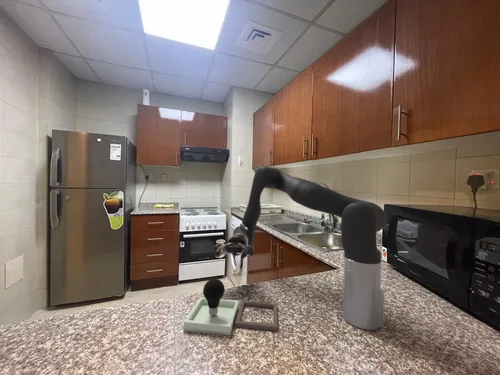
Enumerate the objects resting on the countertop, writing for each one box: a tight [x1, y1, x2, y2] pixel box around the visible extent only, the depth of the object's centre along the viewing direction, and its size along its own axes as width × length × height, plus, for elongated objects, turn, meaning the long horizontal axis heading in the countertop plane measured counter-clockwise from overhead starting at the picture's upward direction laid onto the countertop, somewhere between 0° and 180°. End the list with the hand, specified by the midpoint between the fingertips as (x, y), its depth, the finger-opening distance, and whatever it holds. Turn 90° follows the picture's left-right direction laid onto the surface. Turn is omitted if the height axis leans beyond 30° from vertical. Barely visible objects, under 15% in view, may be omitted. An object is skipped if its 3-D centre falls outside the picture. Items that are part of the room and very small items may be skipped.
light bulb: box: [202, 278, 226, 316], centre depth 58 cm, size 6×6×10 cm
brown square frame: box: [234, 300, 278, 332], centre depth 59 cm, size 11×11×1 cm
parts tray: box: [183, 296, 240, 336], centre depth 57 cm, size 12×12×2 cm
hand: (230, 254), depth 68 cm, fingers open, 8 cm apart
